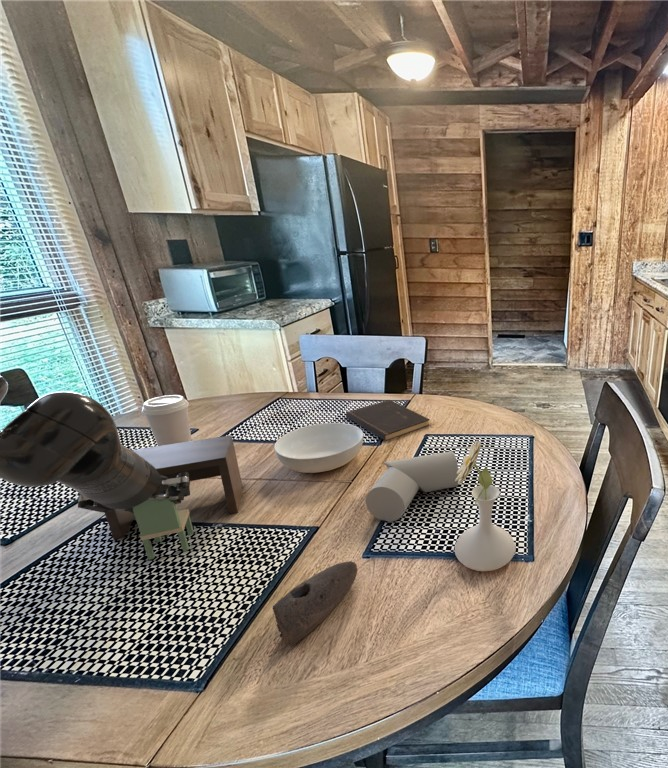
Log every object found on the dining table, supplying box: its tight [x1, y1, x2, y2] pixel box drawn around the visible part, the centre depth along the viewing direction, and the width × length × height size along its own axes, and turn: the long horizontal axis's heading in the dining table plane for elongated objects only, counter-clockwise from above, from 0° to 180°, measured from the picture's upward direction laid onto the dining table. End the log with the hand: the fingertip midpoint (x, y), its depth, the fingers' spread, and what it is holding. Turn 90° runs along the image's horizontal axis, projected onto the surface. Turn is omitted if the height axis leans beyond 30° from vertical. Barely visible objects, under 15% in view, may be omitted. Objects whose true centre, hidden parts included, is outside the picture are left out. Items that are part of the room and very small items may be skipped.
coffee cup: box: [141, 394, 193, 446], centre depth 108 cm, size 10×10×15 cm
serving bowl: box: [273, 422, 364, 474], centre depth 107 cm, size 21×21×7 cm
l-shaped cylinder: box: [365, 450, 460, 522], centre depth 94 cm, size 18×11×20 cm
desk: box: [104, 435, 243, 541], centre depth 86 cm, size 11×20×14 cm, turn 117°
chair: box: [132, 499, 195, 561], centre depth 76 cm, size 6×6×14 cm
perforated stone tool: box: [272, 561, 358, 648], centre depth 64 cm, size 15×5×7 cm, turn 152°
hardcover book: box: [346, 399, 431, 442], centre depth 133 cm, size 16×23×2 cm
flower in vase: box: [454, 439, 516, 572], centre depth 74 cm, size 13×11×25 cm
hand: (157, 502), depth 74 cm, fingers closed on chair, 5 cm apart
